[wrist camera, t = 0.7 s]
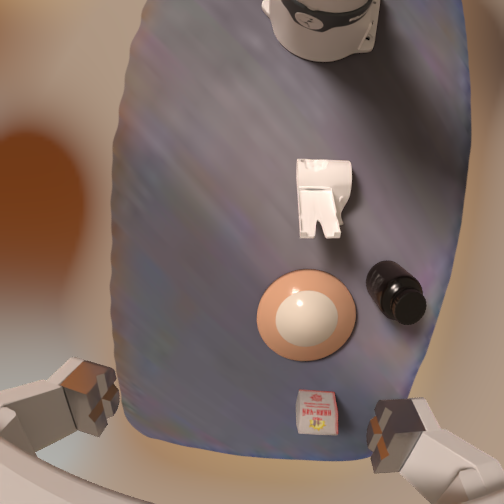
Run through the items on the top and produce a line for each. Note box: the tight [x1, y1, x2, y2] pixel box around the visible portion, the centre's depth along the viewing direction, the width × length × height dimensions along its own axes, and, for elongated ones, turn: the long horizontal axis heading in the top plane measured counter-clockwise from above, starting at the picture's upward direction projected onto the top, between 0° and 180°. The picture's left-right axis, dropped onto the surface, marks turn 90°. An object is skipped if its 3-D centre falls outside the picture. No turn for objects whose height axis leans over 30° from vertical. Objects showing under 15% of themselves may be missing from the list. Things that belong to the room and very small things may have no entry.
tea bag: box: [296, 389, 338, 435], centre depth 51 cm, size 4×7×10 cm, turn 84°
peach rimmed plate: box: [257, 269, 356, 361], centre depth 51 cm, size 16×16×2 cm
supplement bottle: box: [366, 261, 427, 325], centre depth 43 cm, size 7×7×12 cm
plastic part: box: [297, 159, 352, 238], centre depth 41 cm, size 8×10×12 cm
